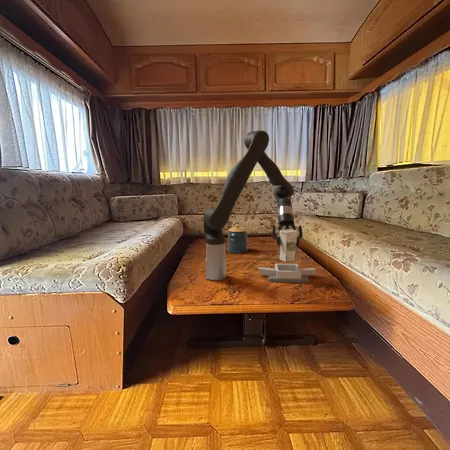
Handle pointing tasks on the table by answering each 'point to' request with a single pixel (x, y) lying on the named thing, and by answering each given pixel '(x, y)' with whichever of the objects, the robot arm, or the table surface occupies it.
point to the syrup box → (288, 245)
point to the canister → (237, 240)
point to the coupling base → (287, 273)
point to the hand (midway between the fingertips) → (288, 245)
